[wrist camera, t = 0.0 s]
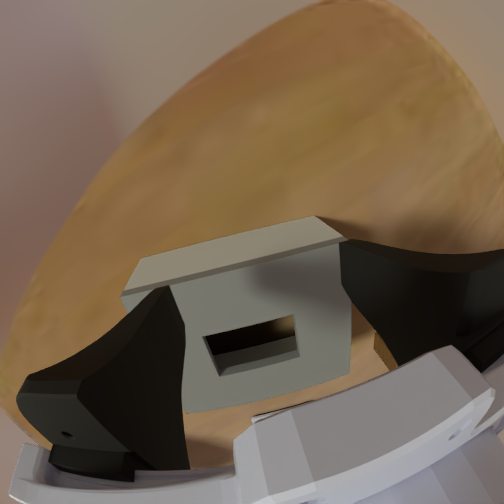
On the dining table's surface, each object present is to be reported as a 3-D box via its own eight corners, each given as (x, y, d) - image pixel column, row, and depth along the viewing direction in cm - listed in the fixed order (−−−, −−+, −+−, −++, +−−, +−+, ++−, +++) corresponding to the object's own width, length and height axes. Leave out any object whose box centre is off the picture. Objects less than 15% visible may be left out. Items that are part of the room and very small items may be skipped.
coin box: (325, 332, 26) (349, 373, 20) (188, 366, 25) (186, 413, 19) (314, 215, 21) (349, 240, 15) (141, 258, 20) (120, 297, 15)
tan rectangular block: (400, 336, 28) (422, 361, 24) (373, 348, 28) (393, 376, 23) (403, 321, 27) (426, 346, 23) (375, 332, 27) (397, 361, 22)
